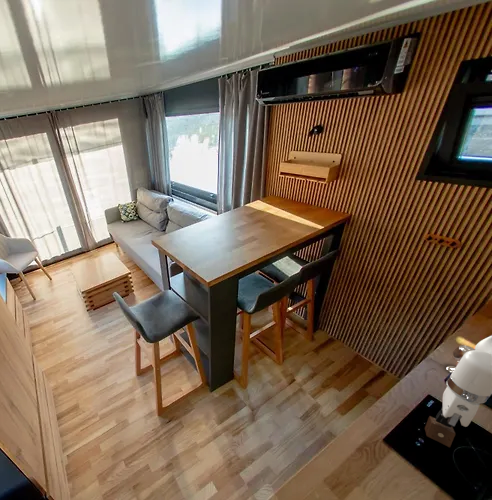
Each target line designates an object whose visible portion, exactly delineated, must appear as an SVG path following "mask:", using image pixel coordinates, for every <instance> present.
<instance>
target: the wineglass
mask: <svg viewBox="0 0 492 500" xmlns="http://www.w3.org/2000/svg"><path fill="white" fill-rule="evenodd" d="M472 350H475V348H473V347H471V346H469V345H462V344H461V345H459V346H457V347H455V348H454V350H453V351H452V358H453V359H454V360H455V361H456V362H457V364H458V363H459V361H460V360H461V358H462V357H463V355H464V354H465V353H466V352H468V351H472ZM455 368H456V366H454V365H448V366H446V370H447V371H448V372H449V373H451V374H452V372H453V371H454V369H455Z"/></svg>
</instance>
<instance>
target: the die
mask: <svg viewBox="0 0 492 500" xmlns="http://www.w3.org/2000/svg"><path fill="white" fill-rule="evenodd" d="M424 431H425V435H426V437H427V438H429V439H432V440H434V441H435V442H438V443H439V444H442V445H444V446H446V447H448V448H451V446H452V444H453V441H454V439H455V437H456V431H455V429H454V427H453V426H451V427H447V426H445V425H443V424H441V423H439V422H437V421H436V417H433V416H431V415H429V416H428V418H427V421H426V424H425V426H424Z"/></svg>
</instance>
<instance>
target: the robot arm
mask: <svg viewBox="0 0 492 500" xmlns="http://www.w3.org/2000/svg"><path fill="white" fill-rule="evenodd" d="M474 349H475V350H472V351H468V352H466V353H465V354H464V355H463V357H462V358H461V360H460V361H459V363H458V362H457V364H456V366H455V367H456V368H455V369H454V371H453V372H452V373H451V374H450V375H449V377H448V379H447V380H446V388H445V389H444V391H443V393H442V406H441V409H440V410H439V411H438V412H437V414H436V415H435V419H436V421H437V422H439V423H441V424H443V425H445V426H447V427H451V426H452V427H453V428H454V427H456V424H457V423H458V421H460V425H461V426H463V427H465V428H466V427H468V426H469V425H470V424H471V422H472V421H473V419H474V418H475V416H476V414H477V412H478V410H479V408H480V404H485V403H486V402H487V400H488V399H489V398H490V397H491V396H492V335H489V336H487V337H485V338H484V339H481V340H480V341H479V342H478V343H476V345H475V347H474Z"/></svg>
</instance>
